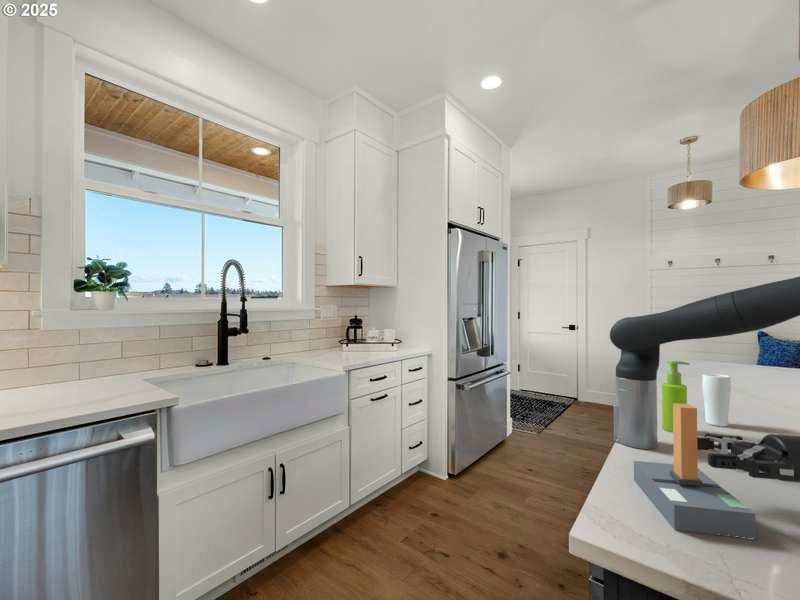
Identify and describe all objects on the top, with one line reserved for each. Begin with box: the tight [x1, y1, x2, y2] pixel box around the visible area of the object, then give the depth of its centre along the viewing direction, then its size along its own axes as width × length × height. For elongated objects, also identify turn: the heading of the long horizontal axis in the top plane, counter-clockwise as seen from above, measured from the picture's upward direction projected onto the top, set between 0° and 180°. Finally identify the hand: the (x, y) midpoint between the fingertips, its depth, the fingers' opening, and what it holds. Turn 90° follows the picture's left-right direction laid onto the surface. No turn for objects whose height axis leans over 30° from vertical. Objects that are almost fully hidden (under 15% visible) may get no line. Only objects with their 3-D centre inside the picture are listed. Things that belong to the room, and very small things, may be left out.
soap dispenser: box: [661, 360, 690, 433], centre depth 110 cm, size 6×7×20 cm
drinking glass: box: [701, 373, 732, 428], centre depth 116 cm, size 7×7×15 cm
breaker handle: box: [670, 403, 702, 486], centre depth 69 cm, size 4×4×14 cm
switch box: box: [633, 460, 757, 540], centre depth 69 cm, size 11×18×4 cm, turn 166°
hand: (696, 450), depth 68 cm, fingers open, 8 cm apart
